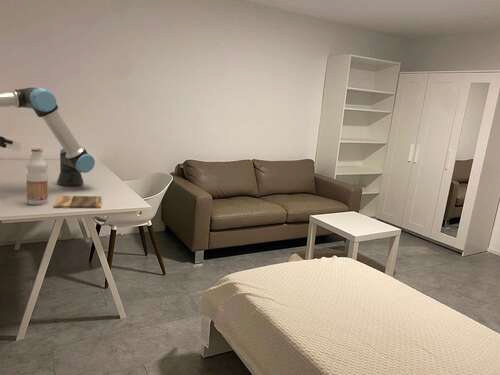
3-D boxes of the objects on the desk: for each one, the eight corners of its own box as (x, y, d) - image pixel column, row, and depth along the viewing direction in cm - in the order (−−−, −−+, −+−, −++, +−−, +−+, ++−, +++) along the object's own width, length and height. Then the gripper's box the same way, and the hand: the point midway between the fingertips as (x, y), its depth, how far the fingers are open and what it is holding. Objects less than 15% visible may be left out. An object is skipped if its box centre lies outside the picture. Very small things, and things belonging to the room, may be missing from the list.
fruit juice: (30, 205, 189) (29, 150, 183) (24, 201, 196) (23, 147, 190) (50, 203, 196) (50, 150, 190) (44, 199, 202) (44, 147, 196)
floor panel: (53, 208, 189) (53, 205, 189) (58, 197, 208) (58, 195, 207) (100, 208, 197) (100, 205, 197) (101, 198, 216) (101, 196, 215)
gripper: (-29, 144, 190) (19, 157, 200) (-37, 136, 169) (17, 151, 179) (-24, 130, 191) (23, 143, 201) (-31, 121, 170) (22, 136, 180)
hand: (20, 147), depth 190 cm, fingers open, 13 cm apart
